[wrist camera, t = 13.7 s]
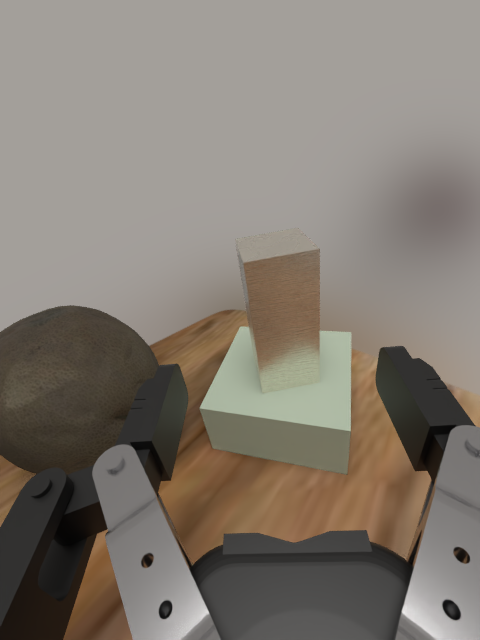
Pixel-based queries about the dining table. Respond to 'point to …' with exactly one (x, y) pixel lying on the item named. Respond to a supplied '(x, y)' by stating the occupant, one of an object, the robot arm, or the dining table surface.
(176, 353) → the dining table surface
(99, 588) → the dining table surface
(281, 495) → the dining table surface
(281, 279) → the tea tin
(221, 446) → the green box
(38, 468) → the brown coconut
